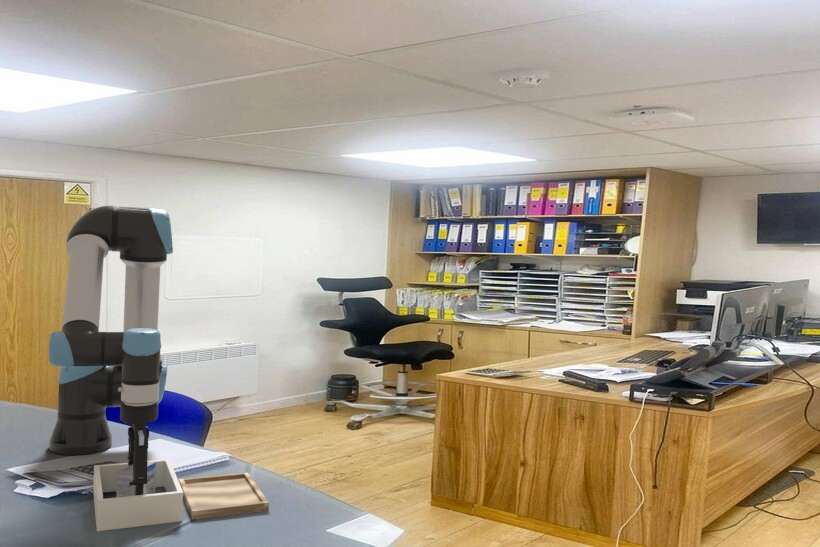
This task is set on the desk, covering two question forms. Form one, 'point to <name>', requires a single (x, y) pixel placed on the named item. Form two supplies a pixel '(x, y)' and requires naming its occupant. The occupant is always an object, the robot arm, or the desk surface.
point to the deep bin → (136, 499)
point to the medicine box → (127, 476)
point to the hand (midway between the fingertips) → (135, 504)
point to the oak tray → (222, 495)
